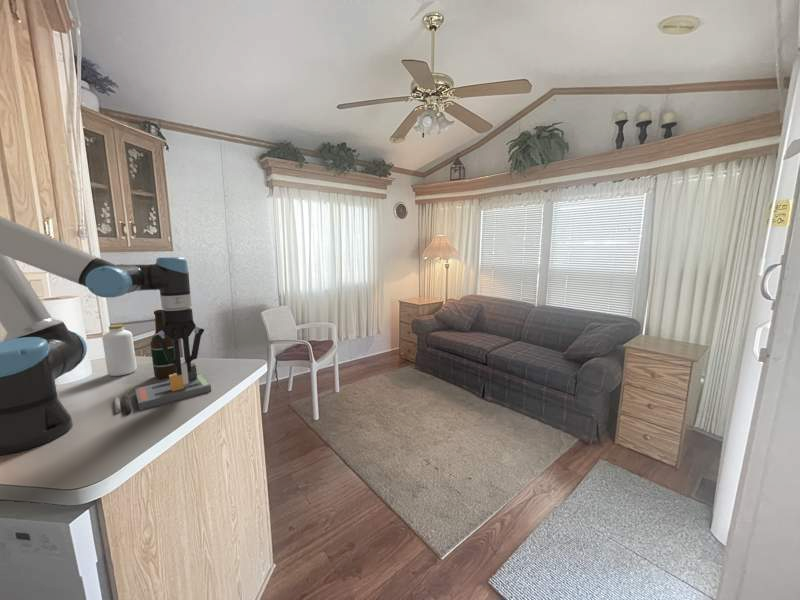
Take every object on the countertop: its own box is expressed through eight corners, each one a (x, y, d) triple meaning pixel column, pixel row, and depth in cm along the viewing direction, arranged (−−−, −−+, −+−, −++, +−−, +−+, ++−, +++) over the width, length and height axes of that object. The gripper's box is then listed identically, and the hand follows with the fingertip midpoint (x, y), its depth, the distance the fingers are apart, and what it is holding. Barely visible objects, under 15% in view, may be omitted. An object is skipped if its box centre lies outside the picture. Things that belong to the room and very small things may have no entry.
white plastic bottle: (112, 371, 123) (105, 324, 121) (140, 367, 127) (133, 322, 124) (104, 378, 116) (96, 329, 113) (133, 374, 119) (126, 326, 117)
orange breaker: (172, 391, 98) (170, 377, 98) (170, 388, 101) (168, 374, 100) (183, 388, 100) (182, 374, 100) (181, 385, 103) (180, 371, 102)
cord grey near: (121, 412, 91) (120, 408, 91) (115, 413, 90) (114, 409, 90) (119, 399, 99) (119, 396, 98) (114, 401, 98) (113, 397, 98)
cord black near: (131, 413, 90) (130, 408, 90) (125, 415, 89) (124, 410, 89) (128, 398, 99) (128, 394, 99) (122, 400, 98) (122, 395, 98)
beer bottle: (186, 371, 122) (178, 308, 118) (169, 379, 114) (161, 312, 111) (166, 371, 123) (158, 308, 119) (149, 379, 115) (140, 312, 111)
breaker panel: (139, 409, 92) (138, 403, 92) (135, 394, 102) (134, 388, 102) (211, 391, 104) (210, 384, 104) (201, 379, 114) (200, 373, 114)
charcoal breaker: (186, 380, 107) (185, 367, 106) (184, 378, 109) (183, 365, 108) (197, 378, 109) (195, 365, 108) (195, 375, 111) (193, 362, 110)
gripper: (151, 312, 92) (161, 392, 95) (204, 307, 100) (211, 380, 104) (148, 309, 97) (157, 385, 100) (199, 304, 106) (205, 374, 109)
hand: (185, 382), depth 102 cm, fingers closed
